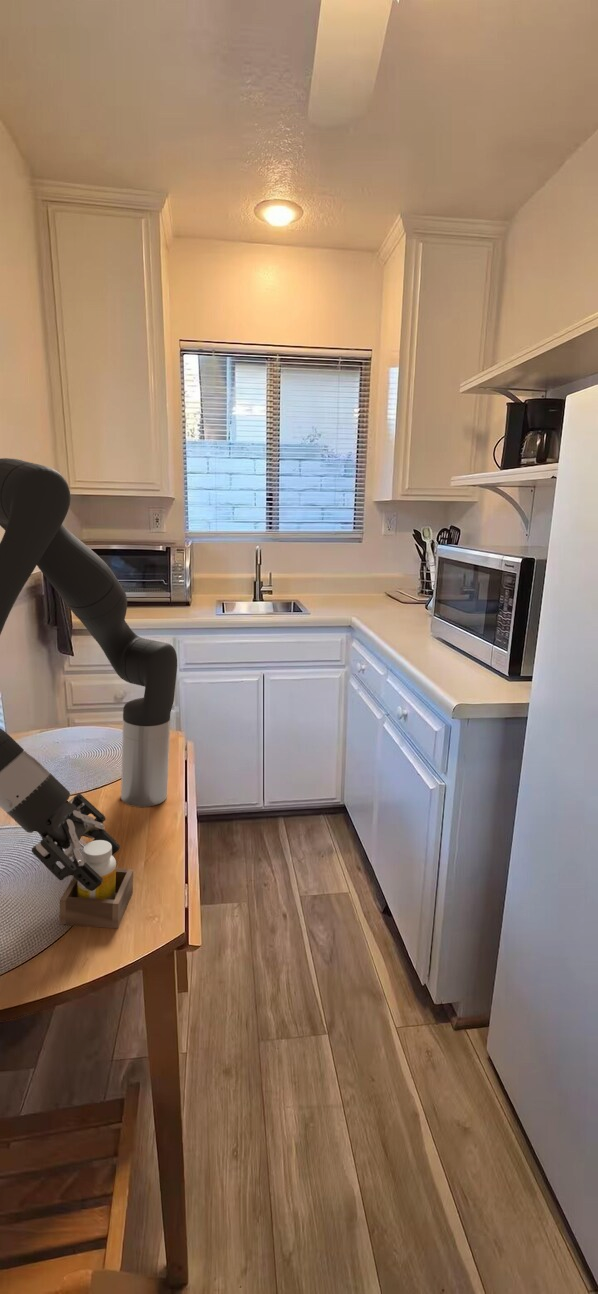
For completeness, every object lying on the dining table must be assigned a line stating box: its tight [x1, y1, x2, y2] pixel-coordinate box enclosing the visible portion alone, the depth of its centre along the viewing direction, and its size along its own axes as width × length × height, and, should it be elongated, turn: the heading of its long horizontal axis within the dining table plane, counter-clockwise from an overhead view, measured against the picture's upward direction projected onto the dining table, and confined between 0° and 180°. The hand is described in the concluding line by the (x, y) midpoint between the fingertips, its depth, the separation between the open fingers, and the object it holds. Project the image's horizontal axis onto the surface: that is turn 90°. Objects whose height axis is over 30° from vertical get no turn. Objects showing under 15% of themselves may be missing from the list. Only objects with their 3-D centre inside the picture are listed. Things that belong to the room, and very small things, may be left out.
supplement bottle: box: [77, 840, 117, 900], centre depth 87 cm, size 5×5×10 cm
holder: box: [59, 868, 134, 929], centre depth 88 cm, size 8×8×4 cm
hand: (107, 868), depth 87 cm, fingers open, 8 cm apart
